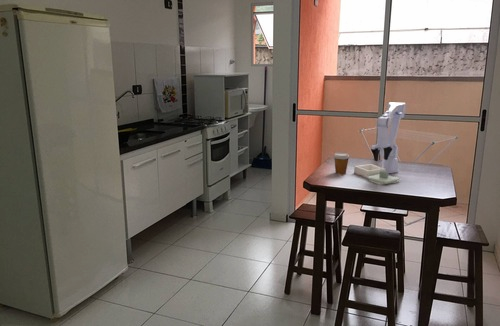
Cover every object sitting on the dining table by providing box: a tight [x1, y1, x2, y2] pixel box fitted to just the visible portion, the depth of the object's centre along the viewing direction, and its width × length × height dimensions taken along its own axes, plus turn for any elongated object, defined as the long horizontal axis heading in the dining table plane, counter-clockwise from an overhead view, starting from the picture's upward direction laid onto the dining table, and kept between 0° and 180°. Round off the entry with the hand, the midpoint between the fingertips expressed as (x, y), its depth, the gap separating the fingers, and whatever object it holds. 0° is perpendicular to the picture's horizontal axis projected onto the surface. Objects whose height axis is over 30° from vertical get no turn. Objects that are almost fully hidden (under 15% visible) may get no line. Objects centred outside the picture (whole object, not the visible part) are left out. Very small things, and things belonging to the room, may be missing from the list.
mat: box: [368, 179, 400, 186], centre depth 241 cm, size 14×10×1 cm
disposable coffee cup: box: [333, 152, 350, 175], centre depth 257 cm, size 10×10×12 cm
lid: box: [366, 171, 401, 185], centre depth 240 cm, size 13×13×5 cm
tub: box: [353, 163, 386, 179], centre depth 254 cm, size 13×13×4 cm
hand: (380, 160), depth 247 cm, fingers open, 7 cm apart
